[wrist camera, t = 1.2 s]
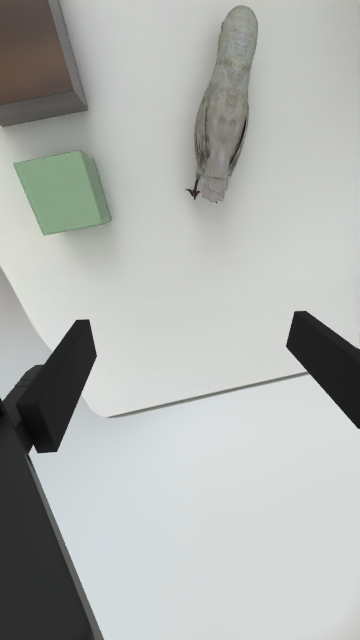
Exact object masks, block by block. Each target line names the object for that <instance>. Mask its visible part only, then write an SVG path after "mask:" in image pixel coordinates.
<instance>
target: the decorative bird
mask: <svg viewBox="0 0 360 640" xmlns="http://www.w3.org/2000/svg"><path fill="white" fill-rule="evenodd" d="M257 34H258V22H257V19H256V16H255V14H254V12H253V11H252V10H251V9H250V8H248V7H246V6H237V7H235V8H234V9H232V10H231V11H230V12H229V13H228V15H227V16H226V18H225V20H224V22H223V23H222V26H221V32H220V36H219V41H218V54H217V60H216V64H215V68H214V72H213V75H212V78H211V80H210V83H209V85H208V87H207V89H206V91H205V93H204V96H203V99H202V102H201V105H200V107H199V109H198V113H197V117H196V123H195V134H194V139H195V152H196V158H197V174H196V178H197V179H196V183H195V188H194V190H193V191H192V190H190V189H186V190H188V191H189V192H190V193H191V195H192V196H194V200H195V198H196V196H197V194H198V193H199V192H200V191H196V189H197V184H198V181H199V179H200V177H201V176H202V177H203V191H202V197H204V198H209V200H210V201H211V202H216V204H217V201H223V198H224V192H225V190H227V184H228V176H231V174H232V172H233V169H234V167H235V165H236V163H237V160H238V158H239V155H240V152H241V150H242V146H243V142H244V138H245V134H246V130H247V125H248V114H249V107H248V82H249V74H250V68H251V63H252V59H253V56H254V53H255V49H256V43H257ZM200 193H201V192H200Z"/></svg>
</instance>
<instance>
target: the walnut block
mask: <svg viewBox="0 0 360 640" xmlns="http://www.w3.org/2000/svg"><path fill="white" fill-rule="evenodd" d="M85 110H88V106H87V102H86V99H85V95H84V91H83V88H82V84H81V80H80V77H79V73H78V69H77V66H76V62H75V58H74V55H73V51H72V47H71V44H70V40H69V36H68V33H67V29H66V25H65V21H64V18H63V14H62V10H61V7H60V3H59V0H0V126H2V127H4V126H9V125H14V124H19V123H24V122H29V121H34V120H39V119H44V118H49V117H54V116H59V115H64V114H70V113H75V112H80V111H85Z"/></svg>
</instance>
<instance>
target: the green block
mask: <svg viewBox="0 0 360 640" xmlns="http://www.w3.org/2000/svg"><path fill="white" fill-rule="evenodd" d="M13 165H14V167H15V169H16V172H17V174H18V176H19V179H20V181H21V184H22V186H23V188H24V191H25V193H26V195H27V198H28V200H29V202H30V205H31V207H32V209H33V212H34V214H35V216H36V219H37V221H38V224H39V226H40V228H41V231H42V233H43V235H48V234H54V233H59V232H64V231H69V230H74V229H80V228H85V227H90V226H95V225H100V224H104V223H107V222H110V221H111V217H110V213H109V210H108V206H107V203H106V199H105V196H104V192H103V189H102V185H101V182H100V178H99V175H98V171H97V168H96V164H95V161H94V159H92V158H91V157H89V156H88V155H86V154H85V153H83V152H82V151H80V150H79V151H74V152H69V153H64V154H59V155H54V156H49V157H44V158H38V159H33V160H28V161H23V162H18V163H14V164H13Z"/></svg>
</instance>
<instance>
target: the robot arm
mask: <svg viewBox="0 0 360 640" xmlns="http://www.w3.org/2000/svg"><path fill="white" fill-rule="evenodd" d="M286 347H287V348H288V350H289V351H290V352H291V353H292V354H293V355H294V356H295V358H296V359H297V360H298V361H299V362H300V363H301V364H302V365H303V367H304V368H305V369H306V370H307V371H308V372H309V373H310V375H311V376H312V377H313V378H314V379H315V380H316V381H317V382H318V384H320V386H321V387H322V388H323V389H324V390H325V392H326V393H327V394H328V395H329V396H330V397H331V398H332V399H333V401H334V402H335V403H336V404H337V405H338V406H339V407H340V409H341V410H342V411H343V412H344V413H345V414H346V415H347V416H348V418H349V419H350V420H351V421H352V422H353V423H354V424H355V425H356V427H357V428H358V429H360V349H358V348H356V347H354V346H353V345H352V344H350V343H349V342H348V341H346V340H345V339H343V338H342V337H341V336H339V335H338V334H337V333H335V332H334V331H333V330H331V329H330V328H328V327H327V326H326V325H324V324H323V323H322V322H320V321H319V320H318V319H316V318H315V317H313V316H312V315H311V314H309V313H308V312H307V311H295V312H294V316H293V320H292V324H291V328H290V332H289V336H288V340H287V345H286ZM96 357H97V355H96V350H95V345H94V340H93V335H92V331H91V326H90V321H89V319H88V320H76V321H75V323H74V324H73V325H72V327H71V328H70V329H69V331H68V332H67V334H66V335H65V336H64V338H63V339H62V340H61V342H60V343H59V345H58V346H57V347H56V349H55V350H54V352H53V353H52V354H51V356H50V357H49V359H48V360H47V361H46V363H45V364H44V365H35V366H34V367H32V368H31V369H30V370H28V371H27V372H26V373H25V374H24V375H23V377H22V378H21V379H20V382H18V383H17V384H16V385H15V387H14V388H13V389H12V391H11V392H10V393H9V394H8V395H7V397H6V398H5V399H4V400H3V402H2V400H1V398H0V640H104V638H103V636H102V634H101V631H100V629H99V626H98V624H97V621H96V619H95V616H94V614H93V611H92V609H91V607H90V604H89V602H88V599H87V597H86V594H85V592H84V589H83V587H82V584H81V582H80V579H79V577H78V574H77V572H76V570H75V567H74V565H73V562H72V560H71V557H70V555H69V552H68V550H67V547H66V545H65V542H64V540H63V538H62V535H61V533H60V530H59V528H58V525H57V523H56V520H55V518H54V516H53V513H52V510H51V508H50V506H49V503H48V501H47V498H46V496H45V493H44V491H43V488H42V486H41V483H40V481H39V479H38V476H37V474H36V471H35V469H34V466H33V464H32V461H31V459H30V457H29V455H28V453H29V452H30V450H31V448H32V446H33V444H34V447H35V449H36V451H37V453H48V452H57V450H58V448H59V446H60V443H61V441H62V439H63V436H64V434H65V431H66V429H67V427H68V424H69V422H70V419H71V417H72V414H73V412H74V409H75V407H76V405H77V403H78V400H79V398H80V395H81V393H82V391H83V388H84V386H85V383H86V381H87V379H88V376H89V374H90V371H91V369H92V367H93V364H94V362H95V359H96Z"/></svg>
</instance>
